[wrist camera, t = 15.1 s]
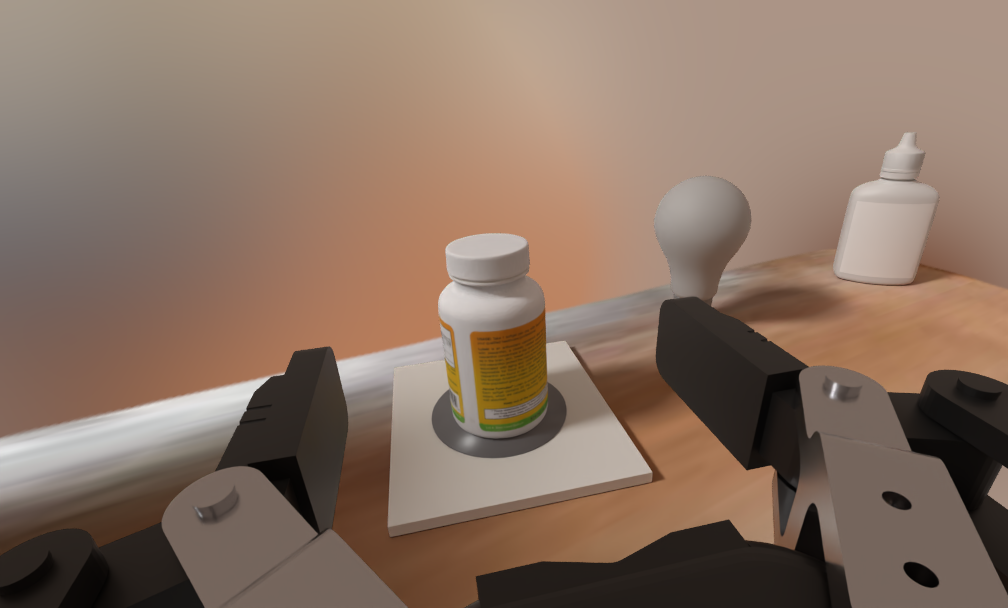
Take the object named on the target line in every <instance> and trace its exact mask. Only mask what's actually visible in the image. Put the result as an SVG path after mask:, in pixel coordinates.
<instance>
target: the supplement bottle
mask: <svg viewBox="0 0 1008 608" xmlns="http://www.w3.org/2000/svg"><path fill="white" fill-rule="evenodd" d="M446 262H447V271H448V273H449V277H450V278H451V279H452V280H453V282H451V283H450V284H449V285H448V286H447V287H446V288H445V289H444V290H443V291H442V293H441V295H440V297H439V303H438V309H439V318H440V326H441V333H442V340H443V348H444V356H445V363H446V370H447V378H448V385H449V392H450V400H451V407H452V412H453V416H454V418H455V420H456V422H457V423H458V425H459V426H460V427H461V428H462V429H464V430H465V431H467V432H468V433H471V434H473V435H476V436H479V437H484V438H494V439H499V438H509V437H514V436H518V435H521V434H523V433H526V432H528V431H530V430H531V429H533V428H534V427H535V426H537V425H538V424H539V423H540V422H541V420H542V419H543V418H544V416H545V414H546V411H547V407H548V384H547V354H546V323H545V301H544V294H543V291H542V289H541V287H540V286H539V284H538V283H537V282H536V281H534V280H533V279H531V278H530V277H528V276H526V274H527V273H528V272H529V264H530V260H529V247H528V242H527V240H526V239H525V238H523V237H520V236H517V235H512V234H501V233H500V234H499V233H496V234H494V233H492V234H479V235H472V236H467V237H464V238H460V239H457V240H455V241H453V242H451V243H449V245H447V247H446Z"/></svg>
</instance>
